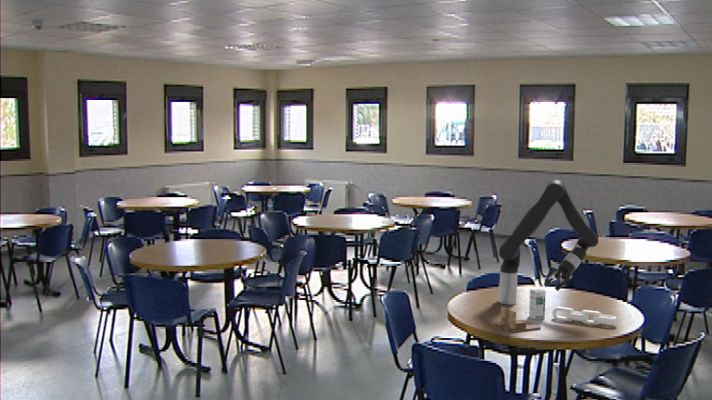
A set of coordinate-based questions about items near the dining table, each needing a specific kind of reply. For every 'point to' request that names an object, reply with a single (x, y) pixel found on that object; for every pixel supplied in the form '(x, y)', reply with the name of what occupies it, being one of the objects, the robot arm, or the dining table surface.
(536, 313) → the syrup box
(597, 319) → the chain
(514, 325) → the dock
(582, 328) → the dining table surface
